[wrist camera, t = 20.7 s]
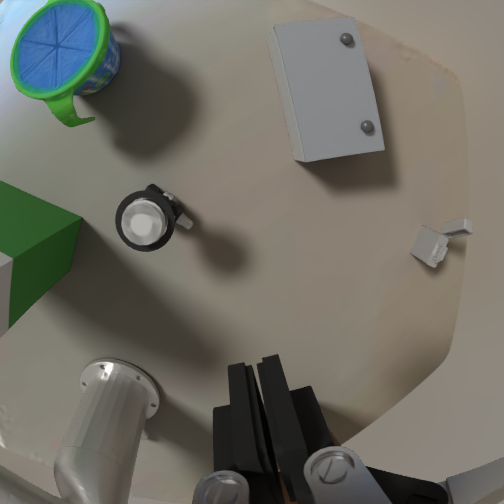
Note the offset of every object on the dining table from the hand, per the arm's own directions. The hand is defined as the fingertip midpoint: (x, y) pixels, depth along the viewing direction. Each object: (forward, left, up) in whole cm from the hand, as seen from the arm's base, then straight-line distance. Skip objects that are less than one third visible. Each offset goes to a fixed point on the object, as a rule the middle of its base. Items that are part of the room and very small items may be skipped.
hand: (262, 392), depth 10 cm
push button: (+3, +7, -28) cm, 29 cm away
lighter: (-7, -24, -28) cm, 37 cm away
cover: (+12, -12, -22) cm, 28 cm away
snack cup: (+22, +12, -28) cm, 37 cm away
